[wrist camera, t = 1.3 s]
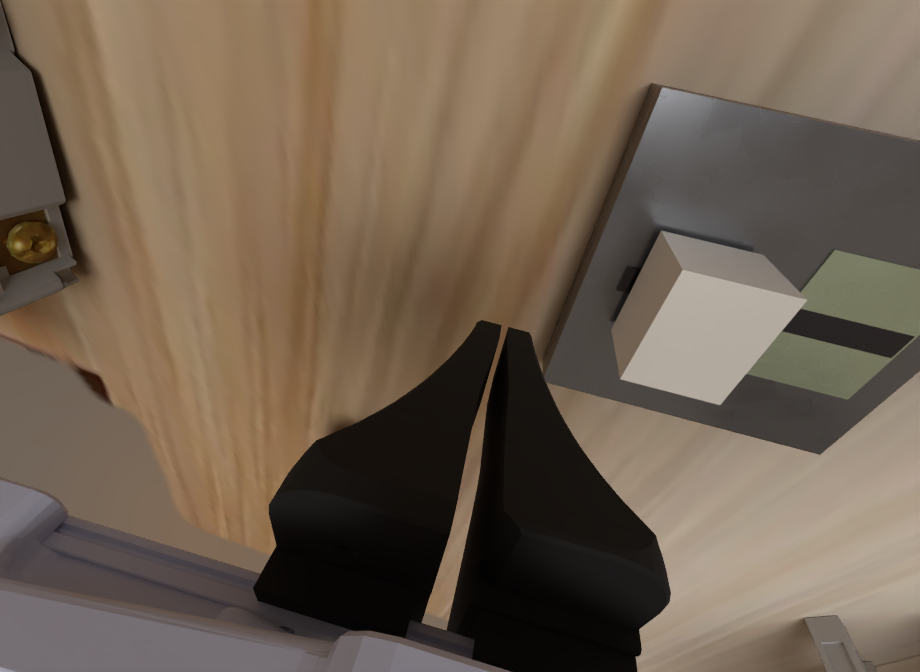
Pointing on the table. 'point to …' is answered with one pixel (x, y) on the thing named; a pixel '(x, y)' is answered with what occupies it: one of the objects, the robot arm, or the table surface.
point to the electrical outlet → (28, 192)
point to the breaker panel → (781, 241)
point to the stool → (836, 645)
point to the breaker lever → (700, 317)
